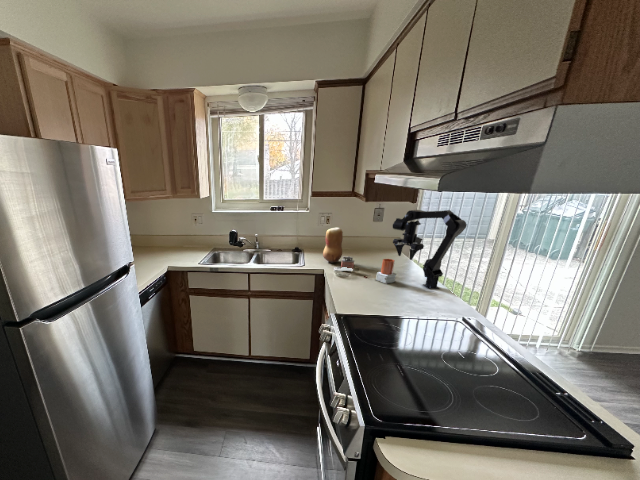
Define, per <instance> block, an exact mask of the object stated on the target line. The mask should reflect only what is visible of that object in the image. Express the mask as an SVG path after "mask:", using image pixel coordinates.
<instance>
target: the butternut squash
mask: <svg viewBox="0 0 640 480" xmlns="http://www.w3.org/2000/svg"><path fill="white" fill-rule="evenodd" d="M325 233H326V234H325V247H324V249H323V252H322V256H323V259H324V260H325V261H327V262H329V263H338V262H339V261H340V260H341V258H342V257H343V247H342V246H343V245H342V244H343V238H344V237H343V235H344V234H343V233H344V232H343V230H342V228H341V227H331V228H329V229H327V230H326V232H325Z"/></svg>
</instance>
